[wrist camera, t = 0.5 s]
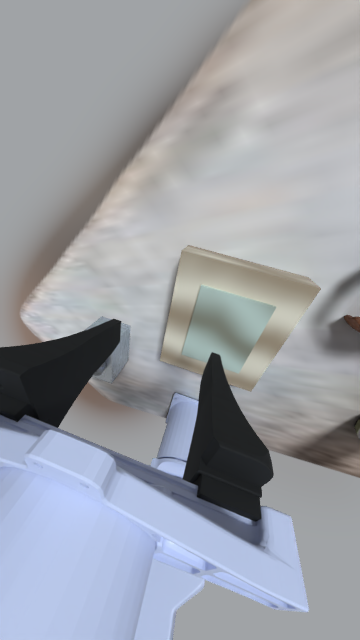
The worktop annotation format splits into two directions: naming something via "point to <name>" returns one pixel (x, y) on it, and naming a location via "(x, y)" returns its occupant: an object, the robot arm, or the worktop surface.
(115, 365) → the block
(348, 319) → the broken clay pot shard
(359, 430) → the bottle
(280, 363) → the worktop surface
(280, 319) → the stand
